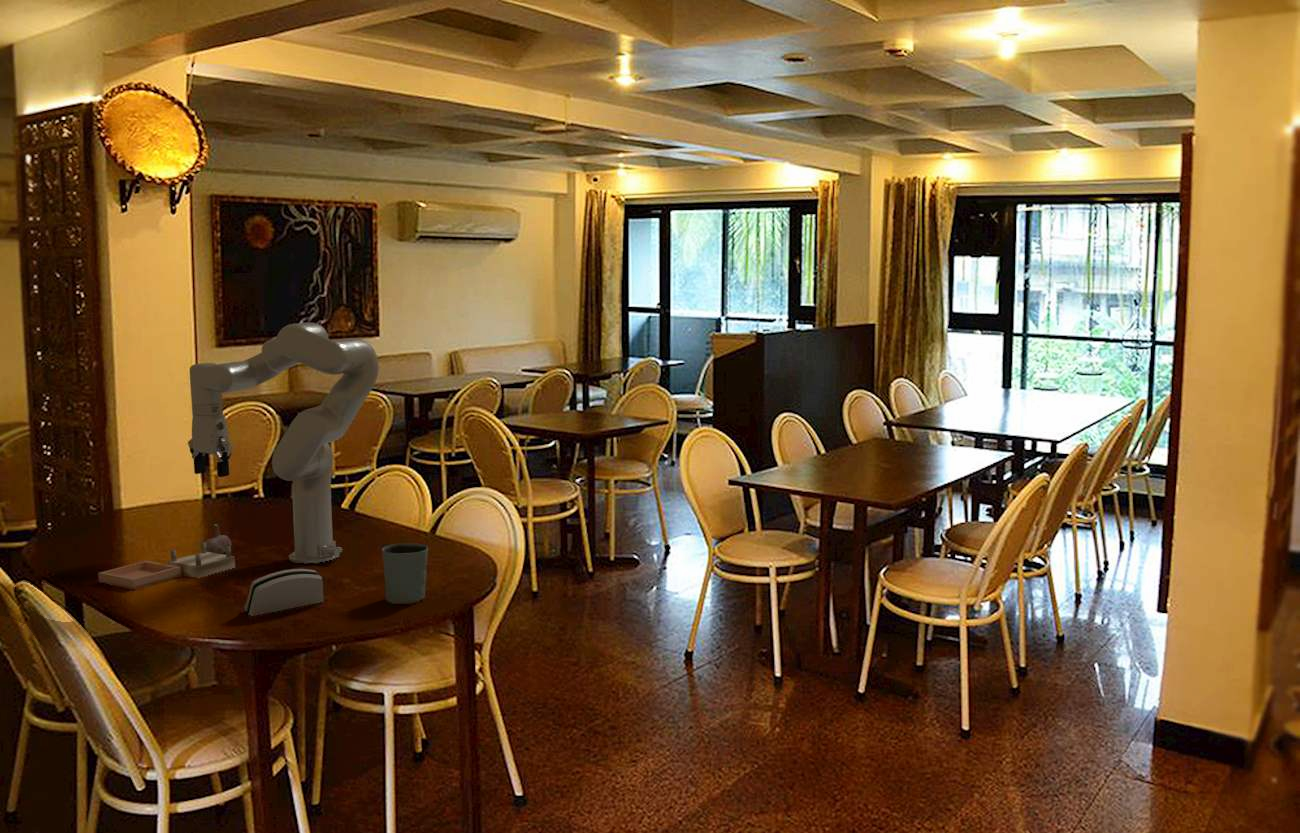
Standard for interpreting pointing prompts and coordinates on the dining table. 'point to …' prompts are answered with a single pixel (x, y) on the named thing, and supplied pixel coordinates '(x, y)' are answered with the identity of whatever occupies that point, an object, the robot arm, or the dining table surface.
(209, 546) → the garlic bulb
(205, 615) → the dining table surface
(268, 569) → the dining table surface
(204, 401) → the robot arm
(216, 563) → the peg rest
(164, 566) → the terracotta dish
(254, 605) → the grey arched block
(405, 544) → the grey green cup
